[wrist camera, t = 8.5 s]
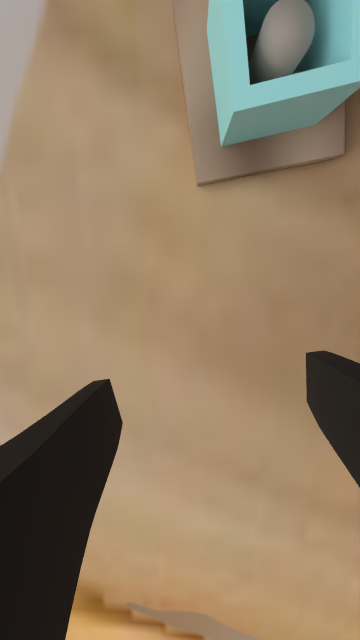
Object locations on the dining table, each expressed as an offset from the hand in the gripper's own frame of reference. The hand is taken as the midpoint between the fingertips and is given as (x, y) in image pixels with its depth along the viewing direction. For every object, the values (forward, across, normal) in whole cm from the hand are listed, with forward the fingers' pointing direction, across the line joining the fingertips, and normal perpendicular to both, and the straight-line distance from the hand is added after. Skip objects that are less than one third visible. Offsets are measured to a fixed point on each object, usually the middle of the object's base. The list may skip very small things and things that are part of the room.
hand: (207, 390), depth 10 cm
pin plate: (+9, -5, -12) cm, 16 cm away
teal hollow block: (+8, -5, -12) cm, 16 cm away
